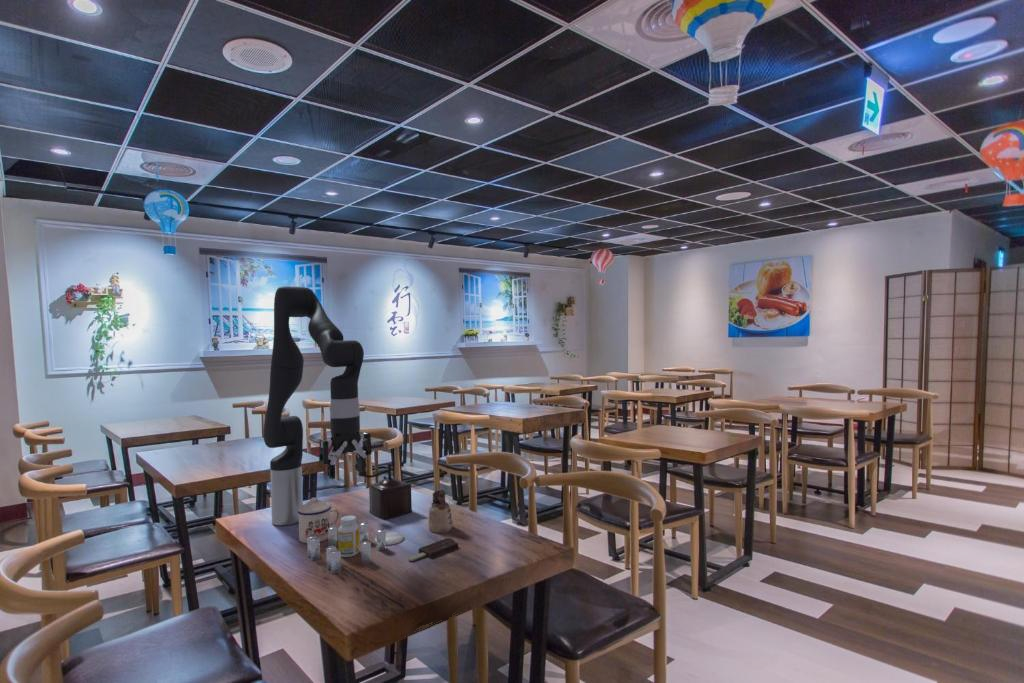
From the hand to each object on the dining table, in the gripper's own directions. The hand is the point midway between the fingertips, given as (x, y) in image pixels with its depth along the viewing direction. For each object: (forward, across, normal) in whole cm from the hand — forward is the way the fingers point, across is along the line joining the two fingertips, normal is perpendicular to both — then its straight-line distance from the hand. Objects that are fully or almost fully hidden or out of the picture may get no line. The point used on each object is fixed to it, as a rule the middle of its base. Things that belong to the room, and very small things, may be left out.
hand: (346, 475), depth 142 cm
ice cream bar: (+22, -15, +17) cm, 31 cm away
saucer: (+21, -12, 0) cm, 25 cm away
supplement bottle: (+21, 0, 0) cm, 21 cm away
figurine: (+21, -27, +6) cm, 35 cm away
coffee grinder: (+21, -24, -20) cm, 38 cm away
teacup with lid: (+21, -1, -18) cm, 28 cm away
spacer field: (+21, 0, 0) cm, 21 cm away
